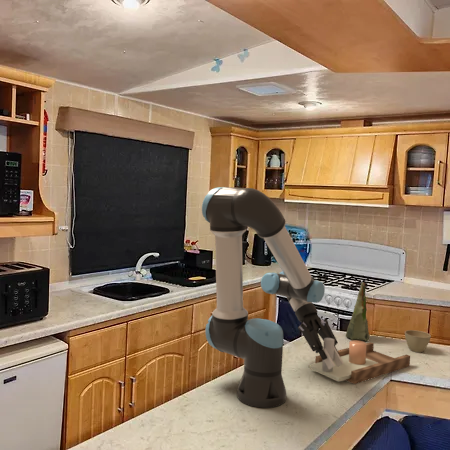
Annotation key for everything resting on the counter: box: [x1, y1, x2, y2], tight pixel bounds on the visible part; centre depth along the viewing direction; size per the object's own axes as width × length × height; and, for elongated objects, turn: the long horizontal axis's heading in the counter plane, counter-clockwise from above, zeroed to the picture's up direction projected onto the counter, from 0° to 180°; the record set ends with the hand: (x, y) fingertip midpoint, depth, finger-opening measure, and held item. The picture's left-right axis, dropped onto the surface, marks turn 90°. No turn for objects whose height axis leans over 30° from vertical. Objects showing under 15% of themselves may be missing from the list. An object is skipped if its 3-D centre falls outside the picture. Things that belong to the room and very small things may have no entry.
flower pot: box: [404, 329, 431, 353], centre depth 197 cm, size 10×10×7 cm
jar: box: [348, 339, 367, 365], centre depth 174 cm, size 6×6×7 cm
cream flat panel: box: [308, 338, 377, 383], centre depth 171 cm, size 24×14×12 cm, turn 126°
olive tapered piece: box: [345, 281, 370, 342], centre depth 209 cm, size 11×12×25 cm
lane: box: [314, 341, 411, 385], centre depth 177 cm, size 32×18×4 cm, turn 126°
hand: (336, 366), depth 162 cm, fingers closed on cream flat panel, 4 cm apart
